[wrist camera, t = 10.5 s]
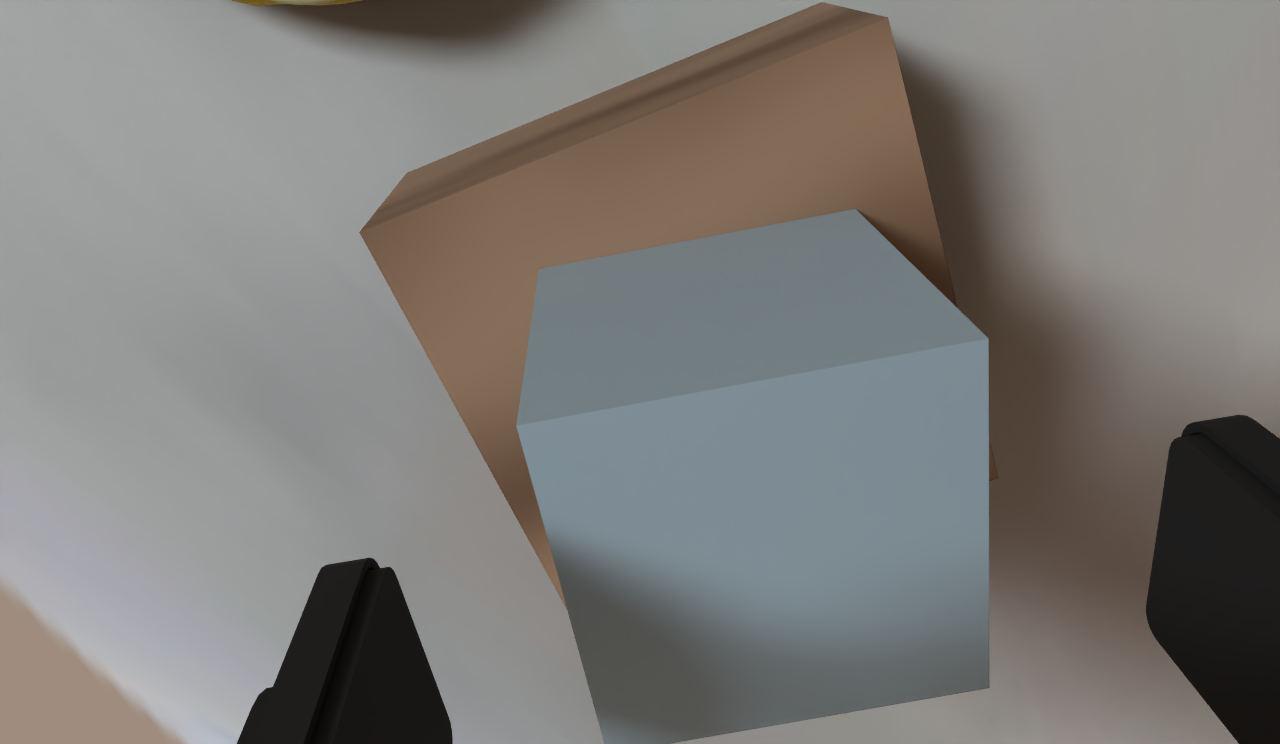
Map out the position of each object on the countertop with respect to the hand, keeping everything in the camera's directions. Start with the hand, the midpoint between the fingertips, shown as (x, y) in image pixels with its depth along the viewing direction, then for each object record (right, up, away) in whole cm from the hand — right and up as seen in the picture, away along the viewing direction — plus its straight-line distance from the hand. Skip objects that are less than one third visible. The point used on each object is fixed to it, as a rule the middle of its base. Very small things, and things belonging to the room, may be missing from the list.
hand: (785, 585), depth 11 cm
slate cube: (0, +2, +7) cm, 7 cm away
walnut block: (-1, +5, +11) cm, 12 cm away
